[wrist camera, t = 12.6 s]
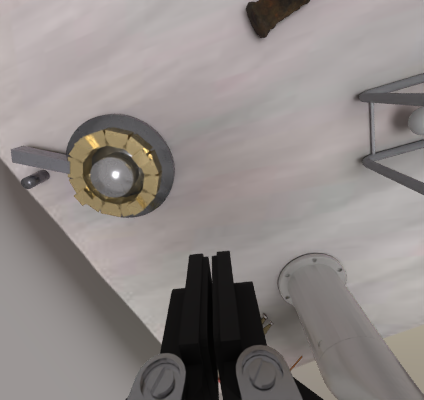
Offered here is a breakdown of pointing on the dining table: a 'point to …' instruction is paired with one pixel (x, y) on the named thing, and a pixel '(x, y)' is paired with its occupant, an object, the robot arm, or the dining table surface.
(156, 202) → the housing
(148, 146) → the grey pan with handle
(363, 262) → the dining table surface
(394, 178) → the newton's cradle
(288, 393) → the robot arm
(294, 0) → the hand tool
